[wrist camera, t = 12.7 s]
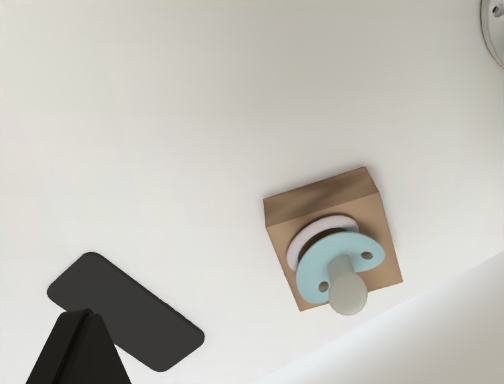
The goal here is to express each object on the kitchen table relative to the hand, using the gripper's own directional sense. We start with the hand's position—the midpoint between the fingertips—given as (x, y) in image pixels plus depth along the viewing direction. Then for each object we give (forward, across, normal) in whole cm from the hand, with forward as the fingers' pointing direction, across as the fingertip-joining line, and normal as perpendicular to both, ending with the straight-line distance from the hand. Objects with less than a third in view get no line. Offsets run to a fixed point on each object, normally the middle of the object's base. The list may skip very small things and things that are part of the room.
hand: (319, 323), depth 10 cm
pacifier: (+24, -2, +15) cm, 28 cm away
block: (+29, -3, +16) cm, 33 cm away
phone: (+29, +18, +22) cm, 40 cm away
